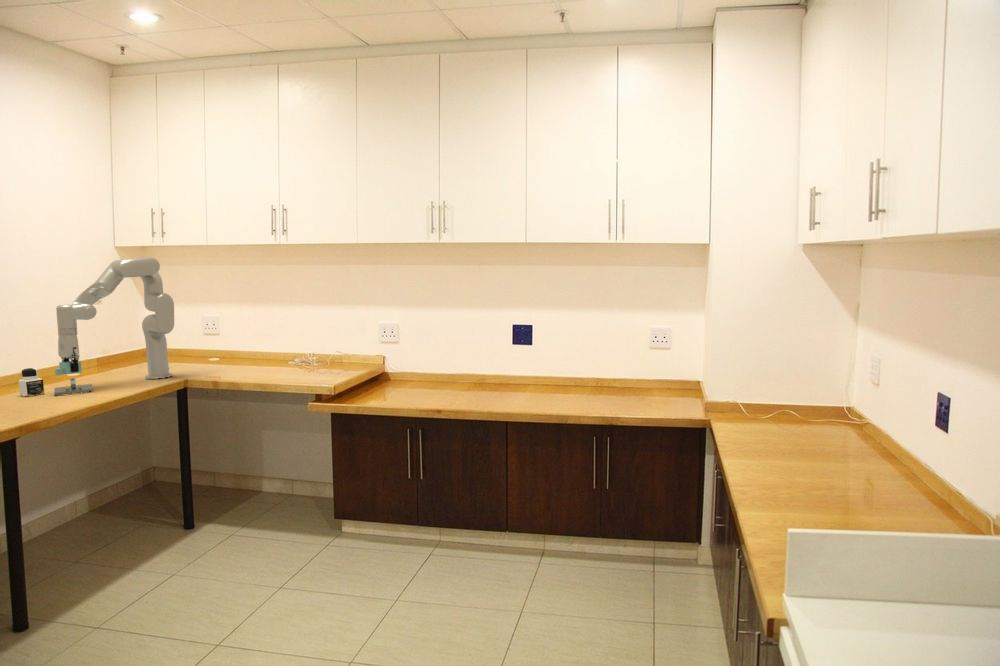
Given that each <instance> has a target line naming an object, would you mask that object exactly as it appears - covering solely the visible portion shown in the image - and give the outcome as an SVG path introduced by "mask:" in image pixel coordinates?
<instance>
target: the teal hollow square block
mask: <svg viewBox="0 0 1000 666" xmlns="http://www.w3.org/2000/svg"><path fill="white" fill-rule="evenodd" d="M78 361H79V362H78V367H79V371H78V372H71V367H70V364H71V361H70V360H69V361H67V362H62V361H60V362H59V364H58V366H59V368H55V369H54V373H55V374H54V375H55V376H60V375H73V374H80V373H83V372H82V371H83V370H82V361H80V360H78Z"/></svg>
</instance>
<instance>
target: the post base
mask: <svg viewBox="0 0 1000 666" xmlns="http://www.w3.org/2000/svg"><path fill="white" fill-rule="evenodd" d="M69 380H70V385H65V386H58V387H54V390H53V391H54V393H53V394H54V396H55V395H60V396H63V395H62V394H69V395H73V394H72V393H78V394H82V393H81V392H87V393H90V392H89V391H93V392H94V388H93V387H94V386H93V384H92V383H88V384H87V383H86V384H78V385H77V383H76V378H75V377H72V378H69Z"/></svg>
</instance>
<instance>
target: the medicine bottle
mask: <svg viewBox="0 0 1000 666" xmlns="http://www.w3.org/2000/svg"><path fill="white" fill-rule="evenodd" d="M38 371H39V369H38V368H36V367H35V368H34V367H32V368H31V367H30V368H23V369H21V377H22V379H19V380H18V382H17V383H18V389H19V396H20V395H22V396H21V397H25V396H31V397H34V396H33V395H36V396H39V395H38V394H42V395H45V386H44V379H43V378H40V377H39V372H38Z"/></svg>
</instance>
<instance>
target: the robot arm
mask: <svg viewBox="0 0 1000 666" xmlns="http://www.w3.org/2000/svg"><path fill="white" fill-rule="evenodd" d="M160 266H161V264H160V262H159V260H158V259H156V258H154V257H151V256H150V257H136V258H134V259H133V258H132V259H115V260H113V261H112V262H110V264H109V265H108V266H107V268H105V270H104V271H103V272H102V273H101V274H100V276H99V277H98V278H97V280H95V282H93V283H92V284H90V285H89V286H88V288H86V289H85V290H84V291H82V292H81V293H80V294H79V295H78V296H77V297H76V299H75V300H74V301H73V302H72V303H71V304H62V305H61V304H60V305H57V306H56V308H55V310H56V320H57V321H56V324H57V335H58V339H57V341H58V342H57V349H58V354H57V355H58V357H60V358H61V362H67V361H71V364H70V367H71V372H78V371H79V367H78V362H79V361H80V347H79V340H78V323H77V321H79V320H82V321H83V320H84V321H89V320H93V318H95V317H96V315H97V313H98V311H97V308H96V306H94V304H96V302H98V301H100V300H102V299H104V298H106V297H108V296H109V295H111V294H113V293H114V291H115V290H116V289H117V287H118V286H119V285H120V284H121V283H122V282H123V280H124V279H125V278H137V277H139V278H140V279H141V281H142V282H143V298H144V300H143V301H144V303H143V304H144V307H145V309H146V310H147V311H149V312H154V314H149V315H146V316H145V317H144V318H143V320H142V322H141V327H142V332H143V336H144V341H145V351H146V352H145V353H146V362H147V364H146V365H147V375H145V376H144V378H145V380H159V379H158V378H162V379H166V378H165V377H168V378H171V377H170V376H172V377H173V376H174V375H173V373H172V372H170V367H169V356H168V342H167V337H166V335H168V334H170V333H171V332H172V331H173V330H174V327H175V302H174V300H173V298H172V296H171V295H170V294H168V293H166V292H164V286H163V285H164V283H163V279H162V276H161V274H160V273H159V271H160V268H161V267H160Z"/></svg>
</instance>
